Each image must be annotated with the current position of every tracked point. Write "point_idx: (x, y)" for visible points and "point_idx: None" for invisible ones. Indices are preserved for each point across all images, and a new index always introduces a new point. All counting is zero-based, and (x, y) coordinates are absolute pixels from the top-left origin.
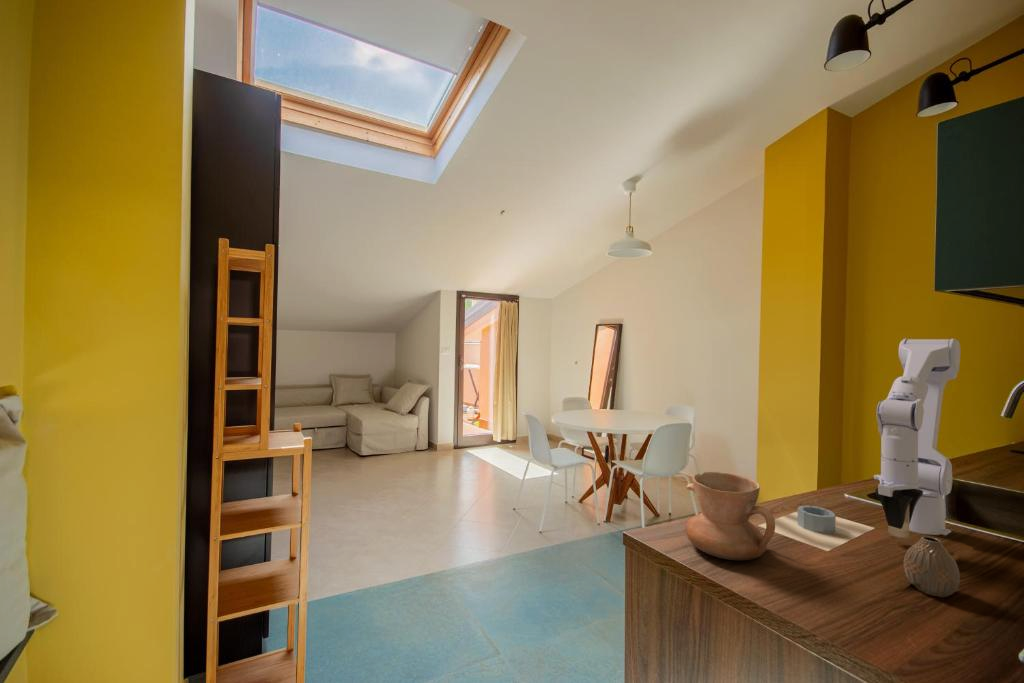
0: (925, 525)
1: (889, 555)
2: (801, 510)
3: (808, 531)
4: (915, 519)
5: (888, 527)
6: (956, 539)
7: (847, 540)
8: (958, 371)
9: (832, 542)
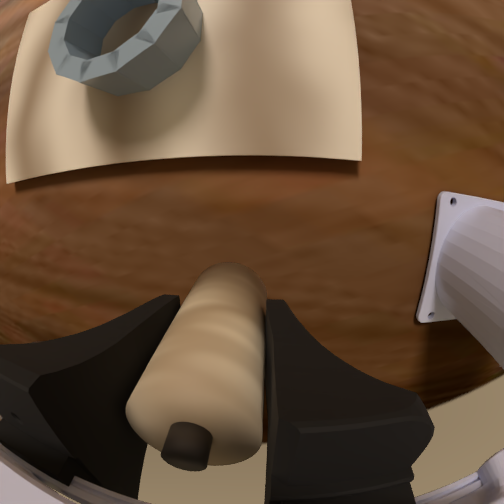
0: (453, 307)
1: (144, 273)
2: (72, 1)
3: None
4: (464, 288)
5: (208, 275)
6: (466, 331)
7: (100, 161)
8: None
9: (52, 150)
